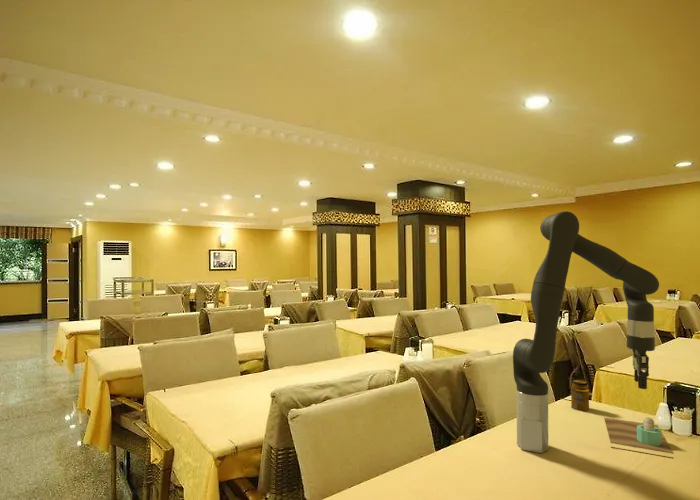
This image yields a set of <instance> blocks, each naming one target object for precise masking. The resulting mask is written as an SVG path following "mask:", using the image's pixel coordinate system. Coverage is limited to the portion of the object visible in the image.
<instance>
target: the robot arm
mask: <svg viewBox="0 0 700 500" xmlns="http://www.w3.org/2000/svg"><path fill="white" fill-rule="evenodd" d="M539 229H540V234H541V235H542V236H543V238H545V239H546V240H548V241H549V243H548V248H547V252H546V255H545V257H544V258H543V260H542V263H540V266H539V267H538V269H537V272H536V273H535V276H534V279H533V283H532V288H531V293H530V304H531V308H532V312H533V316H534V321H535V330H534V336H533V339H530V338H522V339H519V340H518V341H517V342H516V343H515V345H514V347H513V351H512V365H513V380H514V382H515V384H516V445H517V446H518V447H519V448H520V450H523V451H528V452H533V453H539V454H543V453H544V452H547V451H548V450H549V385H548V383H547V382H546V380H544V378H543V376H542V375H541V374H545V373H546V372H548V371H549V370H550V369H551V367H552V366H553V363H554V360H555V355H556V343H557V331H558V325H559V319H560V313H561V312H560V311H561V308H562V303H563V299H564V296H565V289H566V282H567V277H568V273H569V269H570V261H571V258H572V254H573V253H574V254H576V255H577V256H579V257H581V258H582V259H584V260H585V261H586V262H589V263H590V264H592V265H593V266H595V267H596V268H597V269H599V270H601V272H604V273H605V274H606V275H608V276H609V277H611V278H613V279H615V280H619V281H622V290H623V294H624V299H625V302H626V305H627V321H626V348H627V349H630V350H632V355H631V356H632V367H633V370H634V373H633V375H634V381H635V382H636V383H637V387H638V388H639V390H640V389H641V390H647V389H648V377H649V376H650V373H649V368H650V366H649V363H650V357H649V356H648V354H647V352H654V351H655V350H656V346H655V345H656V327H655V314H654V313H655V309H654V305H653V304H652V303H651V302H649V301H648V298H647V295H648V296H649V295H653V294H655V293H656V292H657V291H658V290H659V288H660V281H659V279H658V278H657V277H656V275H654V274H653V273H652V272H650V271H649V270H647V269H646V268H643V267H641V266H639V265H637V264H634V263H632V262H631V261H629V260H627V259H626V258H625V257H623V256H622V255H620V254H619V253H617V252H616V251H614V250H612V249H611V248H609V247H607V246H605V245H602V244H600V243H597V242H595V241H592V240H590V239H588V238H586V237H584V236H583V235H581V234H579V232H580V222H579V218H578V217H577V216H576V214H575V213H573V212H571V211H560V212H556V213H553V214H551V215H549V216H546V217H545V218H544V219H543V220H542V222H541V223H540V228H539Z"/></svg>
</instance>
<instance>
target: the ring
mask: <svg viewBox="0 0 700 500" xmlns="http://www.w3.org/2000/svg"><path fill="white" fill-rule="evenodd" d="M661 432H662V429H660V428H659V429H658V428H656V427H654V431H648V430H644V428H643V425H638V426H637V440H638V441H640V442H641V443H644V444H647V445H653V446H659V445H661V444H662V436H661Z"/></svg>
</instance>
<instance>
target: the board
mask: <svg viewBox="0 0 700 500" xmlns="http://www.w3.org/2000/svg"><path fill="white" fill-rule="evenodd" d="M603 418H604V419H603V420H604V423H605V427H606V430H607V434H608V439H609V441H610V444H614V445H619V446H620V445H621V446H627V447H632V448H637V449H644V450H649V451H655V452H661V453H666V454H673V455H674V451H673V450H672V448H671V447H670V445H669V443H668V441H667V439H666V438H665V436H664V434H663V433H662V431H661V436H662V444H661V445H659V446H653V445H647V444H644V443H641V442H640V441H638V440H637V426H638V425H643V428H644V430H648V431H654V427H656V428H658V429H660V427H659V425H658V424H655V420H653V419H652V418H651V417H644V418H643V422H638V421H637V422H636V421H631V420H624V419H623V420H622V419H617V418H616V419H615V418H610V417H603ZM610 449H617V450H620V451H621V450H622V451H628V452H633V453H640V454H645V455H650V456H656V457H662V458H668V459H672V460H673V459H674V457H672V456H667V455H661V454H656V453H650V452H643V451H639V450H638V451H637V450H634V449H633V450H632V449H625V448H620V447H614V446H610Z"/></svg>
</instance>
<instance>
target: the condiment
mask: <svg viewBox="0 0 700 500" xmlns="http://www.w3.org/2000/svg"><path fill="white" fill-rule="evenodd" d="M571 382H572V383H571V384H572V385H571V389H570V390H571V391H570V393H571V394H570V395H571V397H570V398H571V399H570V401H571V402H570V403H571V405H570V406H571V407H570V408H571V409H573V410H574V411H578V412H579V411H580V412H589V411H590V389H589V383H588V381H586V380H584V379H583V380H582V379H573V380H572V381H571Z"/></svg>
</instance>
